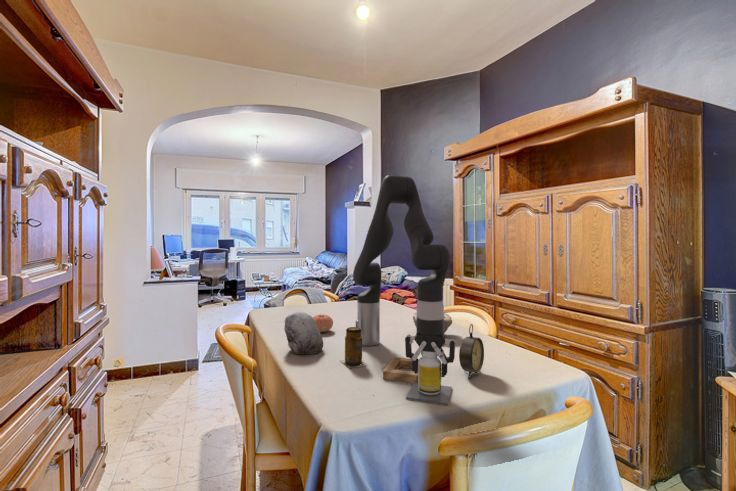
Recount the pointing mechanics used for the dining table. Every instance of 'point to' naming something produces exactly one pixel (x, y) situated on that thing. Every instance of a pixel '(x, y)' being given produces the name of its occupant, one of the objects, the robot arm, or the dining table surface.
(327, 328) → the tomato
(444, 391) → the slate coaster
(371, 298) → the robot arm
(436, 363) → the pill bottle
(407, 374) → the wooden square frame
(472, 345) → the alarm clock
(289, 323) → the stone
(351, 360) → the condiment
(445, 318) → the mortar
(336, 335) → the dining table surface
